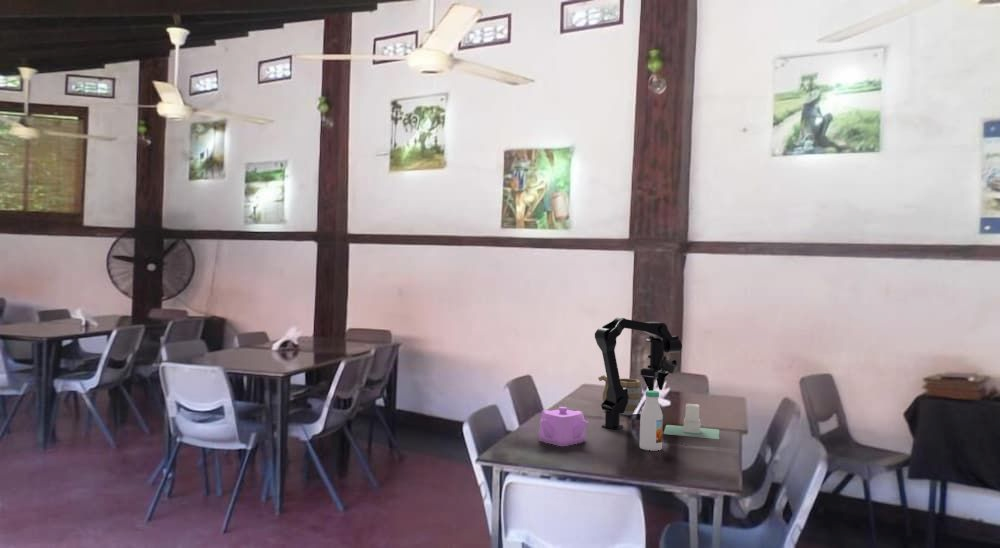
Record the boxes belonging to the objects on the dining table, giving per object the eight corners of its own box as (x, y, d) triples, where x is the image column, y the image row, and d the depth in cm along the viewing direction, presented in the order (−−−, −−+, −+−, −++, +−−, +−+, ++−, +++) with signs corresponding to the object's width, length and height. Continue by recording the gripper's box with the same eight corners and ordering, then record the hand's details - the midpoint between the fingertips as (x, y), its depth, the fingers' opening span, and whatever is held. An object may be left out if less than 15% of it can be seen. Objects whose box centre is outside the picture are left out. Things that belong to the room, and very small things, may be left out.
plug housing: (683, 431, 262) (684, 405, 262) (683, 429, 266) (684, 403, 266) (699, 433, 260) (700, 406, 260) (700, 430, 264) (700, 404, 264)
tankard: (646, 411, 304) (647, 377, 303) (635, 416, 293) (636, 381, 293) (604, 405, 314) (605, 372, 314) (592, 410, 304) (593, 376, 303)
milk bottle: (649, 452, 236) (650, 393, 236) (634, 446, 243) (636, 390, 243) (666, 450, 240) (668, 392, 240) (652, 444, 247) (653, 388, 246)
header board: (662, 436, 259) (663, 427, 259) (666, 427, 274) (666, 418, 274) (719, 442, 252) (719, 432, 252) (719, 432, 268) (719, 423, 268)
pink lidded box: (582, 436, 257) (583, 403, 257) (588, 448, 240) (589, 412, 240) (536, 435, 257) (537, 402, 256) (539, 447, 240) (540, 411, 239)
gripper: (666, 357, 268) (665, 397, 268) (685, 352, 283) (683, 391, 284) (640, 354, 275) (639, 393, 275) (659, 350, 290) (658, 387, 290)
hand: (656, 391), depth 281 cm, fingers open, 9 cm apart
